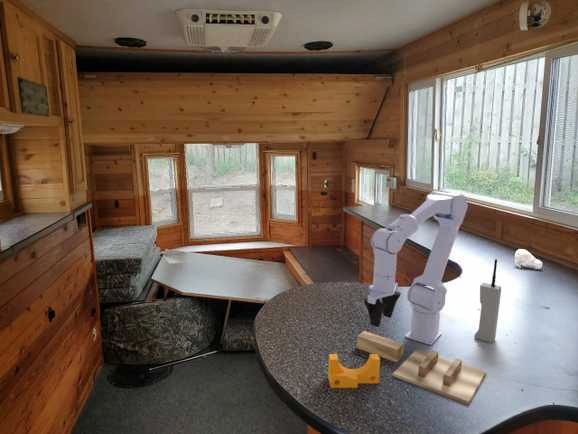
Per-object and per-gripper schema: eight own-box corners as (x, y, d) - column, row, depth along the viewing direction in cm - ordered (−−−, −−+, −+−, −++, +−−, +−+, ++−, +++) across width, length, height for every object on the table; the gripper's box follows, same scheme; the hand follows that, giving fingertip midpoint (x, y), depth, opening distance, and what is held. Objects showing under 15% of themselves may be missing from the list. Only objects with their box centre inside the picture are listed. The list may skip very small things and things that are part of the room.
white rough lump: (517, 246, 203) (545, 253, 197) (513, 263, 205) (541, 270, 199) (515, 249, 198) (544, 256, 192) (511, 266, 200) (539, 273, 194)
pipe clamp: (330, 388, 99) (331, 363, 98) (328, 378, 103) (329, 354, 102) (380, 388, 99) (382, 363, 98) (375, 377, 104) (377, 353, 102)
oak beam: (363, 343, 121) (364, 330, 120) (402, 357, 114) (403, 343, 113) (356, 348, 118) (357, 335, 117) (396, 363, 111) (397, 349, 110)
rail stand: (416, 351, 117) (417, 340, 116) (485, 374, 106) (487, 362, 105) (392, 376, 104) (393, 363, 103) (468, 404, 93) (469, 391, 93)
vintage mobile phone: (477, 334, 128) (486, 255, 124) (495, 339, 125) (504, 259, 121) (474, 338, 125) (483, 258, 121) (491, 343, 122) (501, 261, 118)
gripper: (382, 264, 120) (379, 309, 122) (358, 276, 108) (355, 325, 111) (406, 269, 116) (402, 315, 118) (383, 282, 104) (380, 333, 107)
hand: (381, 320), depth 114 cm, fingers open, 7 cm apart
